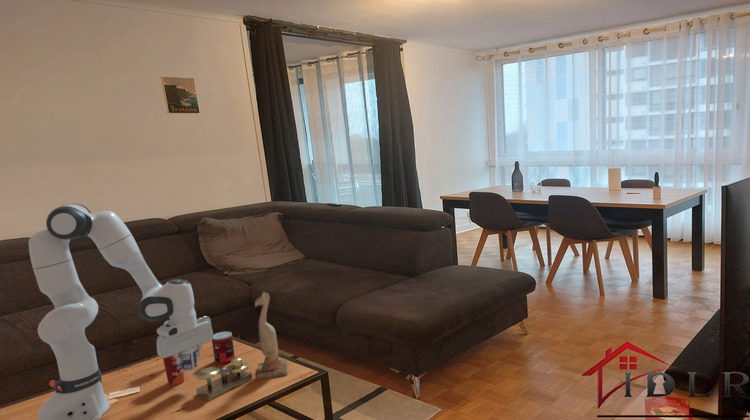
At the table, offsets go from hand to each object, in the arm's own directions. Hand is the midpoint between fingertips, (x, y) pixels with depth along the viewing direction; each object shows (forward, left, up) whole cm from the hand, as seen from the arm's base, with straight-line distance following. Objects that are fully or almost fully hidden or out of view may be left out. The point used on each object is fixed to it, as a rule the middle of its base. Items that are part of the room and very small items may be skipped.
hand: (188, 359), depth 176 cm
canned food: (+20, +10, -11) cm, 25 cm away
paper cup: (-1, +10, -11) cm, 15 cm away
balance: (+7, -10, -11) cm, 16 cm away
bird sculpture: (+24, -16, -11) cm, 31 cm away
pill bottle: (0, 0, -4) cm, 4 cm away
